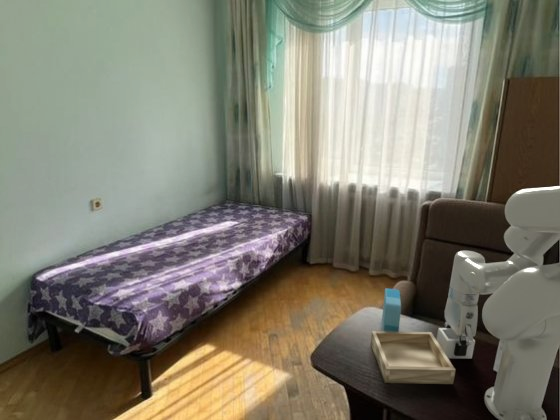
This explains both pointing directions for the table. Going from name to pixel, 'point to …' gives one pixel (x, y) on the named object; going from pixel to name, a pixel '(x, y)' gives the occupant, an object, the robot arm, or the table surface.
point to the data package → (391, 310)
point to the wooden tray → (411, 358)
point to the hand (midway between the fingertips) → (454, 346)
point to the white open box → (452, 343)
